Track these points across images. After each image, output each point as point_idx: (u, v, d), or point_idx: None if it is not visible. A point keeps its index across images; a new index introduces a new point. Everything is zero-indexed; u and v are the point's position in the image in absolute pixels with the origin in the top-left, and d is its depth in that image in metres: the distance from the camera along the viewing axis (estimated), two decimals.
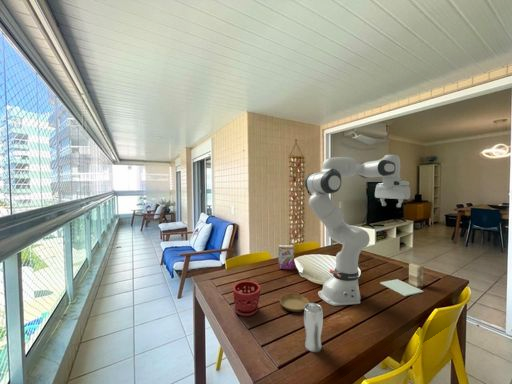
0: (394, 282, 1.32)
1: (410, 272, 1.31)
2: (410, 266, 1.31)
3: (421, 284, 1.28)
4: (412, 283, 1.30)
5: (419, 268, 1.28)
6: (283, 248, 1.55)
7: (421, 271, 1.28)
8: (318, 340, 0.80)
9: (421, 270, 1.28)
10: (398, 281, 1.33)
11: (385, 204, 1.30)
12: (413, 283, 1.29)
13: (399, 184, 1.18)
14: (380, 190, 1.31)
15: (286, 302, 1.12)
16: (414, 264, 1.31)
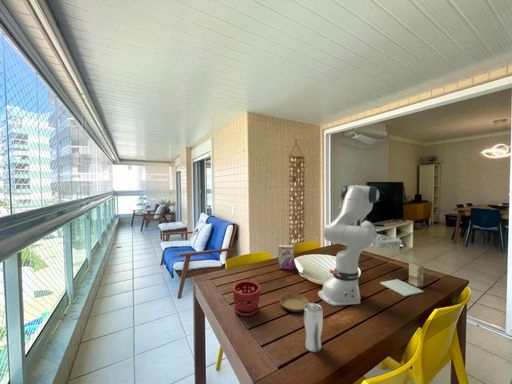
0: (394, 282, 1.32)
1: (410, 272, 1.31)
2: (410, 266, 1.31)
3: (421, 284, 1.28)
4: (412, 283, 1.30)
5: (419, 268, 1.28)
6: (283, 248, 1.55)
7: (421, 271, 1.28)
8: (318, 340, 0.80)
9: (421, 270, 1.28)
10: (398, 281, 1.33)
11: None
12: (413, 283, 1.29)
13: None
14: (378, 241, 1.49)
15: (286, 302, 1.12)
16: (414, 264, 1.31)
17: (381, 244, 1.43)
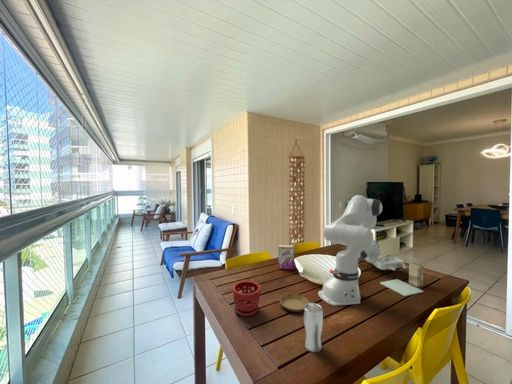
0: (394, 282, 1.32)
1: (410, 272, 1.31)
2: (410, 266, 1.31)
3: (421, 284, 1.28)
4: (412, 283, 1.30)
5: (419, 268, 1.28)
6: (283, 248, 1.55)
7: (421, 271, 1.28)
8: (318, 340, 0.80)
9: (421, 270, 1.28)
10: (398, 281, 1.33)
11: None
12: (413, 283, 1.29)
13: None
14: (381, 261, 1.47)
15: (286, 302, 1.12)
16: (414, 264, 1.31)
17: (384, 266, 1.41)
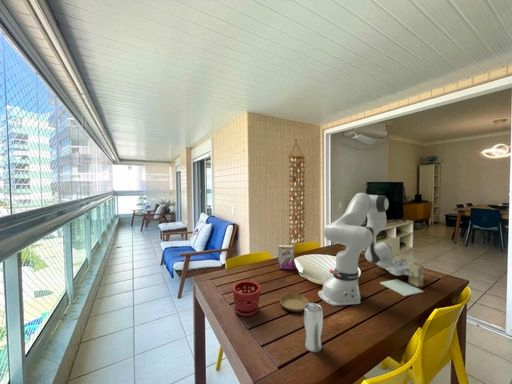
0: (394, 282, 1.32)
1: None
2: (410, 266, 1.31)
3: (421, 284, 1.28)
4: (412, 283, 1.30)
5: (419, 268, 1.28)
6: (283, 248, 1.55)
7: (421, 271, 1.28)
8: (318, 340, 0.80)
9: (421, 269, 1.28)
10: (398, 281, 1.33)
11: None
12: (413, 283, 1.29)
13: (405, 260, 1.44)
14: (395, 267, 1.37)
15: (286, 302, 1.12)
16: (414, 264, 1.31)
17: (398, 271, 1.32)
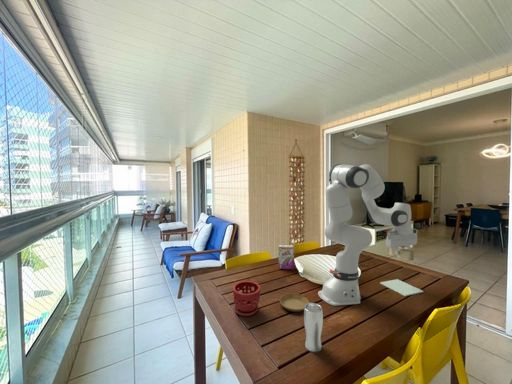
0: (394, 282, 1.32)
1: None
2: (405, 253, 1.21)
3: None
4: (389, 250, 1.31)
5: None
6: (283, 248, 1.55)
7: None
8: (318, 340, 0.80)
9: None
10: (398, 281, 1.33)
11: None
12: (390, 251, 1.31)
13: (416, 232, 1.25)
14: (396, 239, 1.23)
15: (286, 302, 1.12)
16: (410, 254, 1.21)
17: None
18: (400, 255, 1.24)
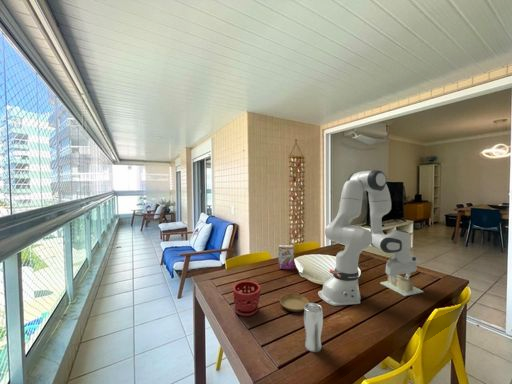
0: None
1: (398, 280, 1.26)
2: (404, 283, 1.22)
3: None
4: (389, 278, 1.31)
5: None
6: (283, 248, 1.55)
7: None
8: (318, 340, 0.80)
9: None
10: None
11: None
12: (389, 279, 1.31)
13: (416, 259, 1.26)
14: (396, 267, 1.23)
15: (286, 302, 1.12)
16: (409, 284, 1.22)
17: None
18: (399, 285, 1.25)
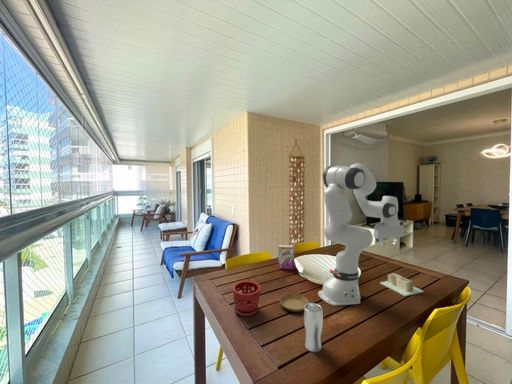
0: None
1: (398, 280, 1.26)
2: (404, 283, 1.22)
3: None
4: (389, 278, 1.31)
5: None
6: (283, 248, 1.55)
7: None
8: (318, 340, 0.80)
9: None
10: None
11: None
12: (389, 279, 1.31)
13: (403, 224, 1.31)
14: (383, 230, 1.29)
15: (286, 302, 1.12)
16: (409, 284, 1.22)
17: (378, 238, 1.29)
18: (399, 285, 1.25)
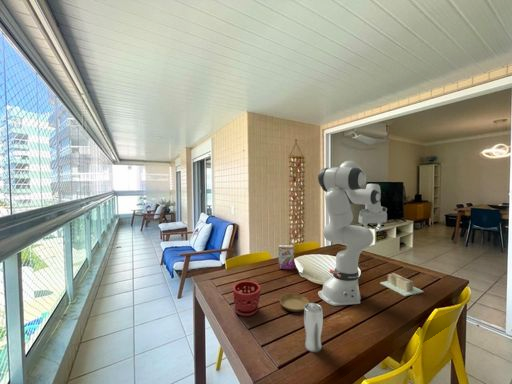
0: None
1: (398, 280, 1.26)
2: (404, 283, 1.22)
3: None
4: (389, 278, 1.31)
5: None
6: (283, 248, 1.55)
7: None
8: (318, 340, 0.80)
9: None
10: None
11: None
12: (389, 279, 1.31)
13: (385, 210, 1.40)
14: (367, 216, 1.37)
15: (286, 302, 1.12)
16: (409, 284, 1.22)
17: (362, 223, 1.37)
18: (399, 285, 1.25)
